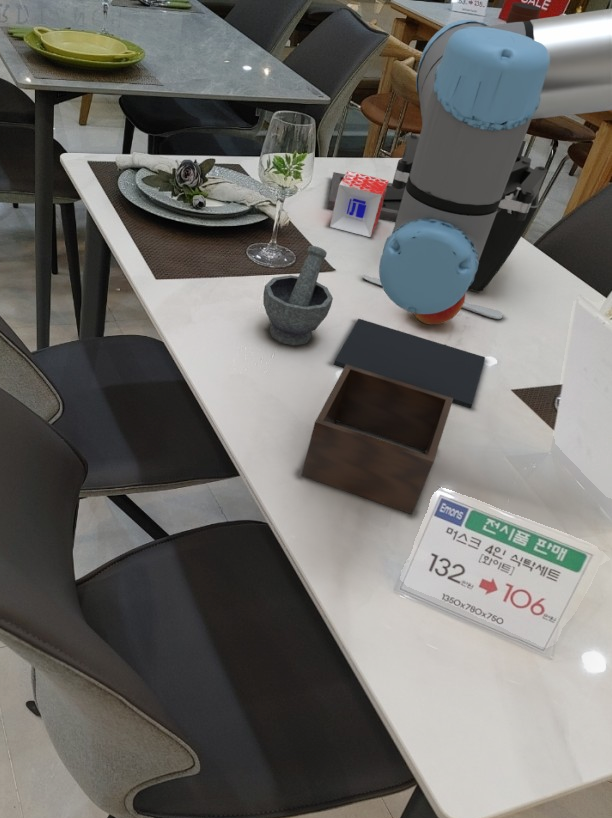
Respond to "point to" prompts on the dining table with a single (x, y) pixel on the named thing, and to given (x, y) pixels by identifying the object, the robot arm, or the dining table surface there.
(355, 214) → the red and white box
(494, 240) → the flower pot
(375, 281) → the butter knife
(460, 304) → the apple
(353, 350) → the slate mat
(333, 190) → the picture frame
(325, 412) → the open wooden box
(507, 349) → the dining table surface
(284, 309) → the mortar and pestle
